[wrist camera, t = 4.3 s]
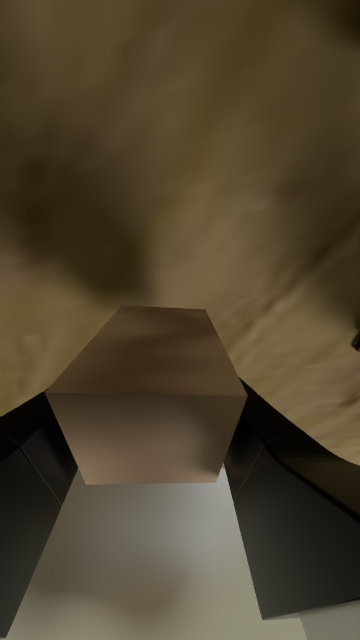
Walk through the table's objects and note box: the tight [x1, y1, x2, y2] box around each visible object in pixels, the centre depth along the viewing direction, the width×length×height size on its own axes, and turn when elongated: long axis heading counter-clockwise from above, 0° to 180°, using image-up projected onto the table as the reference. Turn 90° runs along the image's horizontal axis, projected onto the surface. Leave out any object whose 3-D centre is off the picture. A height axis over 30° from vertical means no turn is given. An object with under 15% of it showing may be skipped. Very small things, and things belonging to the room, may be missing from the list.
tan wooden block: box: [45, 306, 248, 485], centre depth 8 cm, size 5×5×6 cm
